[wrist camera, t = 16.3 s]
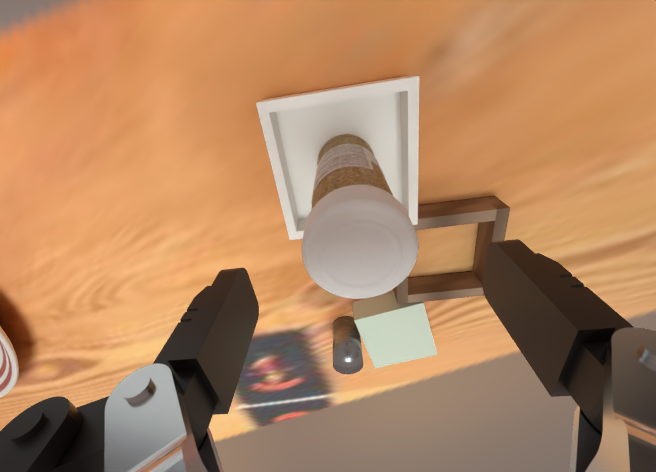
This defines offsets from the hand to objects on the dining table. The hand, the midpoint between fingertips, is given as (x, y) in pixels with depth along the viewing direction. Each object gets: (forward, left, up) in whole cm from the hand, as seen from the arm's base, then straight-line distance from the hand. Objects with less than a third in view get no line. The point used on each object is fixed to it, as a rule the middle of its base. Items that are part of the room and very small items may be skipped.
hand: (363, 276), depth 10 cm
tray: (0, 0, -16) cm, 16 cm away
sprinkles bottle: (0, 0, -15) cm, 15 cm away
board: (-3, +19, -16) cm, 25 cm away
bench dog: (+2, +19, -16) cm, 25 cm away
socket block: (-8, +10, -16) cm, 20 cm away
